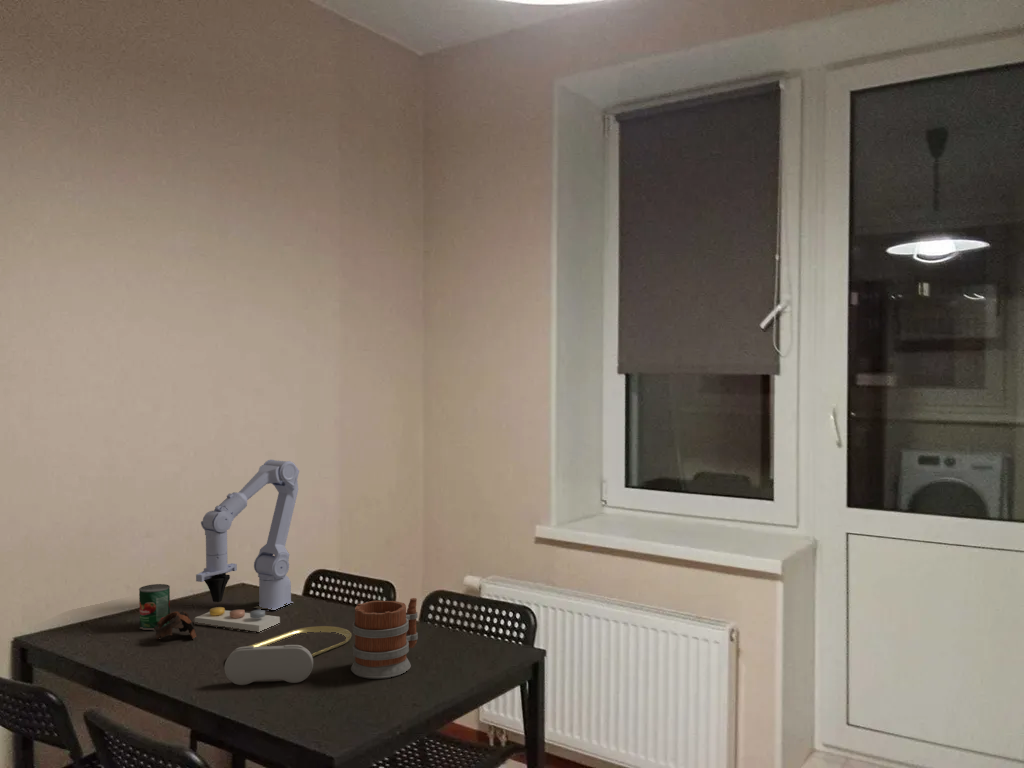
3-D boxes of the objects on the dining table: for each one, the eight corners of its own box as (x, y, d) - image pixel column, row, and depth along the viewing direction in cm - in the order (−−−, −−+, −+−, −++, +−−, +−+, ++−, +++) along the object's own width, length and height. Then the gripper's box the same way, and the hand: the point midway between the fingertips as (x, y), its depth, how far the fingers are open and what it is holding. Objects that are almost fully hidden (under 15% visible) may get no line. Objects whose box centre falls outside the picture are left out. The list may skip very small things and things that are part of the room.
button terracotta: (236, 613, 239) (236, 608, 239) (247, 614, 238) (247, 610, 238) (226, 616, 236) (226, 612, 236) (238, 618, 234) (238, 614, 234)
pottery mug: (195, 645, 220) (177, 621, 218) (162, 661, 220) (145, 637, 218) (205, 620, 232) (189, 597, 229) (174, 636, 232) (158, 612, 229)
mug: (338, 671, 198) (337, 608, 198) (395, 649, 214) (394, 590, 214) (381, 684, 190) (380, 617, 190) (437, 660, 206) (437, 599, 206)
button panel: (216, 616, 245) (216, 609, 245) (279, 623, 237) (279, 616, 237) (194, 624, 237) (194, 617, 237) (259, 632, 229) (259, 625, 229)
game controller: (313, 679, 194) (313, 643, 194) (312, 682, 192) (312, 646, 192) (226, 682, 192) (226, 646, 192) (224, 686, 190) (224, 649, 190)
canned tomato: (175, 623, 238) (175, 584, 238) (161, 631, 231) (160, 591, 230) (148, 622, 239) (148, 583, 239) (133, 630, 231) (133, 590, 231)
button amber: (216, 610, 242) (216, 606, 242) (227, 612, 241) (227, 607, 241) (206, 614, 238) (206, 610, 238) (218, 615, 237) (217, 611, 237)
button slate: (256, 613, 237) (256, 609, 237) (268, 614, 235) (268, 610, 235) (247, 617, 233) (247, 612, 233) (259, 618, 232) (258, 614, 232)
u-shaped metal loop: (211, 665, 204) (211, 658, 204) (314, 628, 234) (314, 622, 234) (265, 679, 195) (265, 672, 195) (366, 638, 225) (366, 632, 225)
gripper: (222, 547, 248) (223, 593, 248) (187, 557, 234) (187, 606, 234) (242, 549, 245) (243, 595, 245) (207, 559, 231) (208, 609, 232)
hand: (217, 601), depth 239 cm, fingers closed
